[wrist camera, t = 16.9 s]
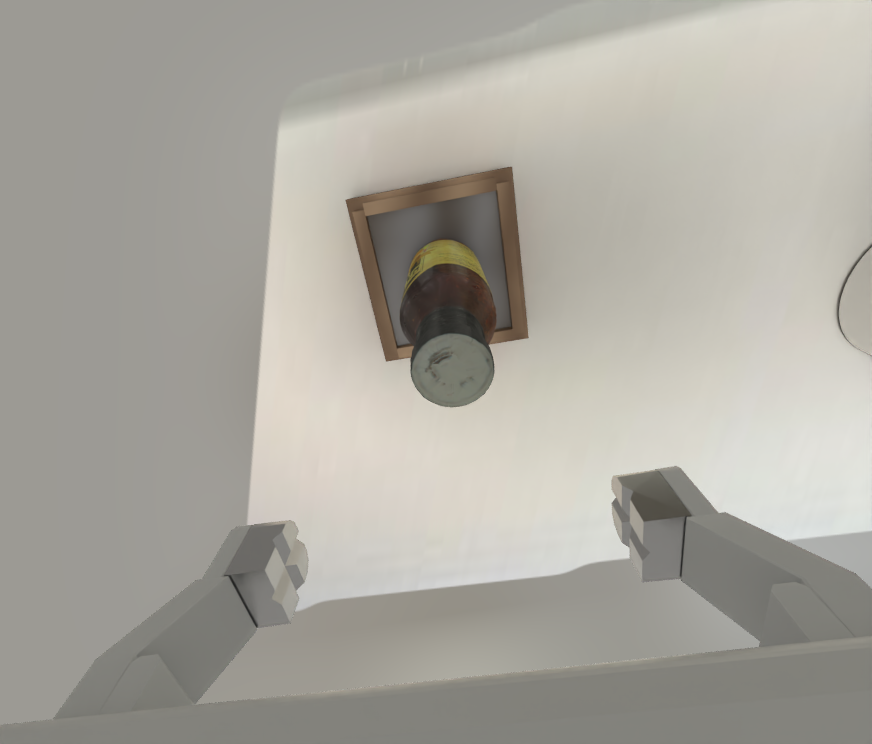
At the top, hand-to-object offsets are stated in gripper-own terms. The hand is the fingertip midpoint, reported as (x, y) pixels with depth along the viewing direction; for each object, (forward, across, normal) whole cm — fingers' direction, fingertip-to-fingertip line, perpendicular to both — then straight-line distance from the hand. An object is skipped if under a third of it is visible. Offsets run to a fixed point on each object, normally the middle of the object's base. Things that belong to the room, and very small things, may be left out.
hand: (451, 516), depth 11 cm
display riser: (+33, 0, 0) cm, 33 cm away
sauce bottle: (+30, 0, 0) cm, 30 cm away
